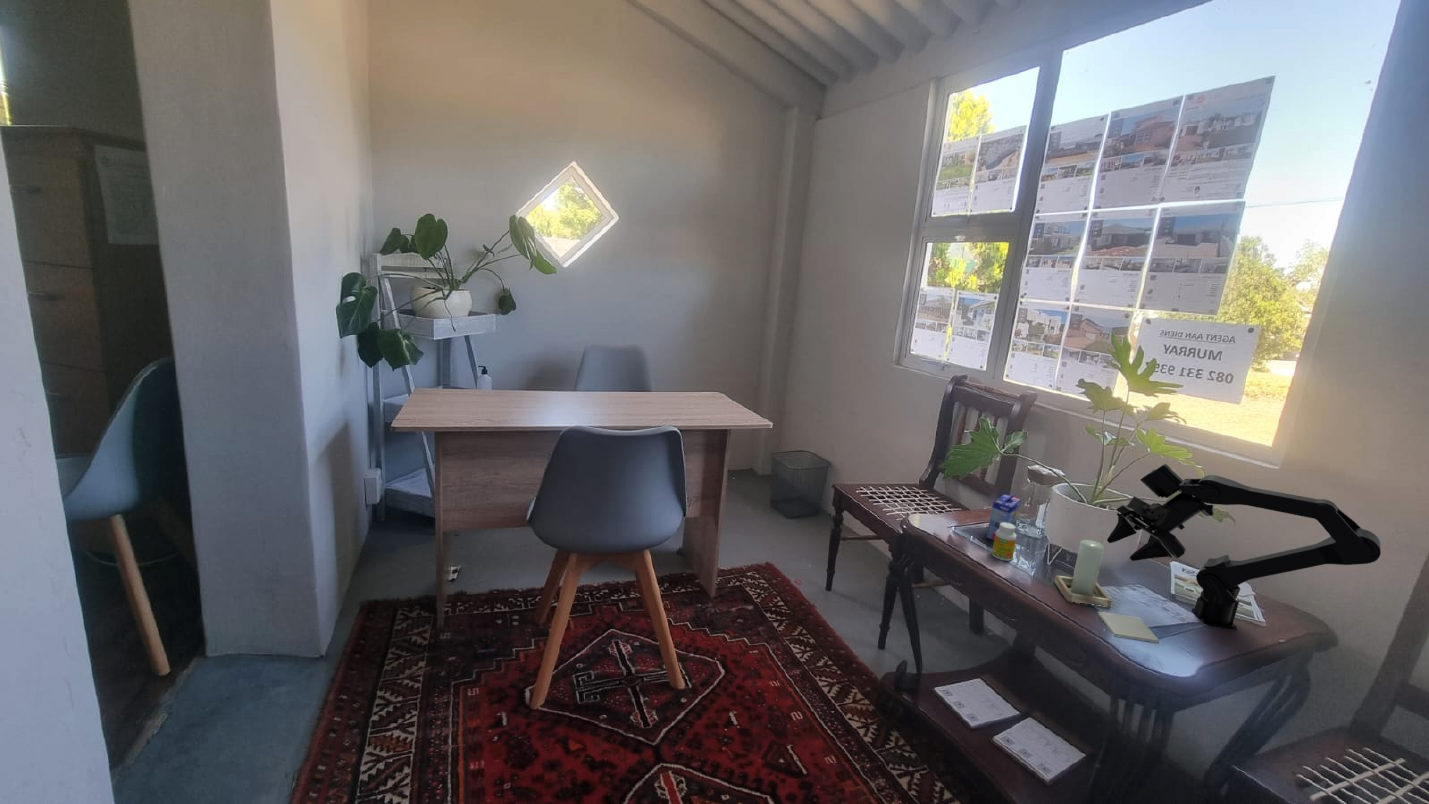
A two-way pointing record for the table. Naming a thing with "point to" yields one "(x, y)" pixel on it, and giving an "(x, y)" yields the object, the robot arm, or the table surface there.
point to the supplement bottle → (1004, 542)
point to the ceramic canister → (1087, 568)
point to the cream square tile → (1127, 627)
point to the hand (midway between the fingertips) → (1119, 550)
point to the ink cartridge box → (1003, 513)
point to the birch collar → (1077, 598)
